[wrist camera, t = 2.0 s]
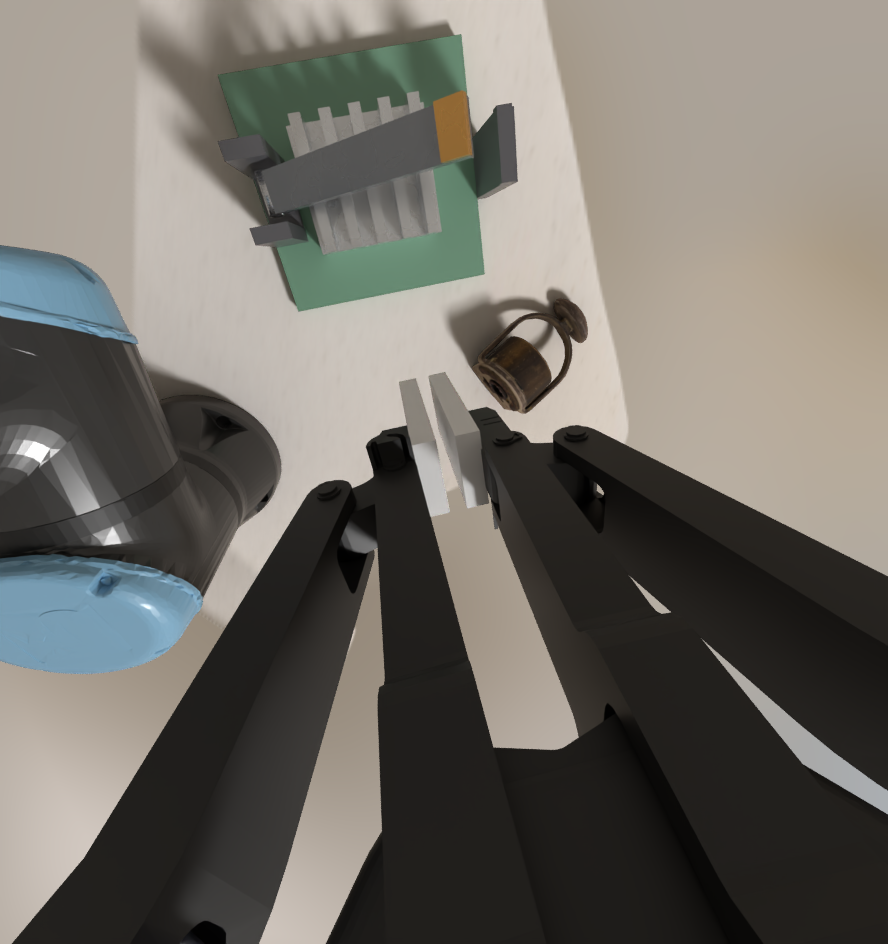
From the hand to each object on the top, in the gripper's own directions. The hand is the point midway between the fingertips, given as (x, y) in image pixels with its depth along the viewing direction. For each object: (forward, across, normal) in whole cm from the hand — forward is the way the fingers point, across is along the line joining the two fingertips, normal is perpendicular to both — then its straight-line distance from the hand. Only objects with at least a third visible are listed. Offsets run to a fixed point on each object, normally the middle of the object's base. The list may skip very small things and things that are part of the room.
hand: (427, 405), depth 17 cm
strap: (+13, -1, +11) cm, 17 cm away
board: (+24, 0, +11) cm, 27 cm away
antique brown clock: (+25, +13, -6) cm, 29 cm away
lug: (+24, +10, +11) cm, 28 cm away
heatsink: (+23, 0, +11) cm, 26 cm away
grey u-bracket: (+23, -7, +11) cm, 27 cm away
